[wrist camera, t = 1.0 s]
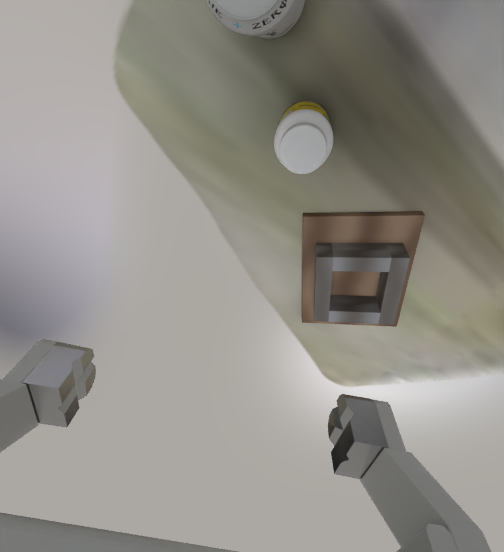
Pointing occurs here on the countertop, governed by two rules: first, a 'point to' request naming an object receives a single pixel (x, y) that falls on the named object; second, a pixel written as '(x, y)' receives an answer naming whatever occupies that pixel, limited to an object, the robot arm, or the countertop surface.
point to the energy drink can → (257, 16)
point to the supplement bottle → (303, 137)
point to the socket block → (357, 266)
